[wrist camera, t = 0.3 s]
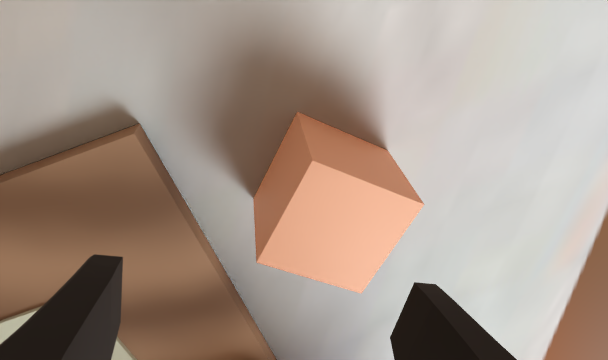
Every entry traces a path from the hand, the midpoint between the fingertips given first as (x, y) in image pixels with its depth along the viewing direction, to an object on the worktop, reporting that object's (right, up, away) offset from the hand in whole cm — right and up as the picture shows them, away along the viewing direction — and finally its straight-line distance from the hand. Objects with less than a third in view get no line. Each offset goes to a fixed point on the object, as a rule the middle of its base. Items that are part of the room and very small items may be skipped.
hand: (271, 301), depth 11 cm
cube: (+2, +3, +9) cm, 9 cm away
